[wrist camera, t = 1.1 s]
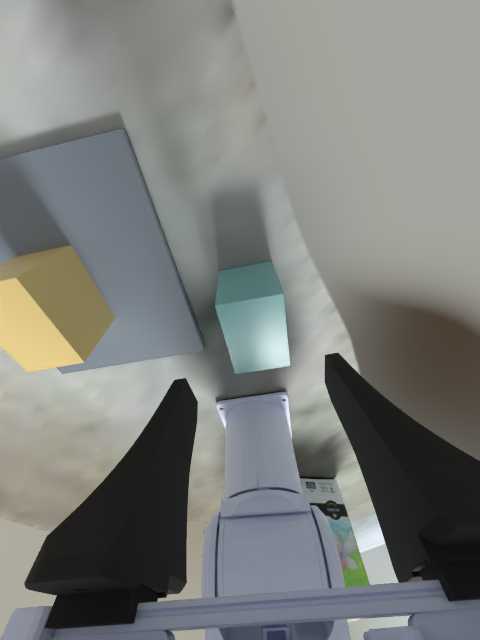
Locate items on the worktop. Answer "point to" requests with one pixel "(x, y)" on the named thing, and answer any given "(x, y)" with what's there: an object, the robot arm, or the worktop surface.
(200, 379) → the worktop surface
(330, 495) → the tea box
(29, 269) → the mustard brick
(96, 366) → the baseplate
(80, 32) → the worktop surface
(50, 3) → the worktop surface
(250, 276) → the teal brick
